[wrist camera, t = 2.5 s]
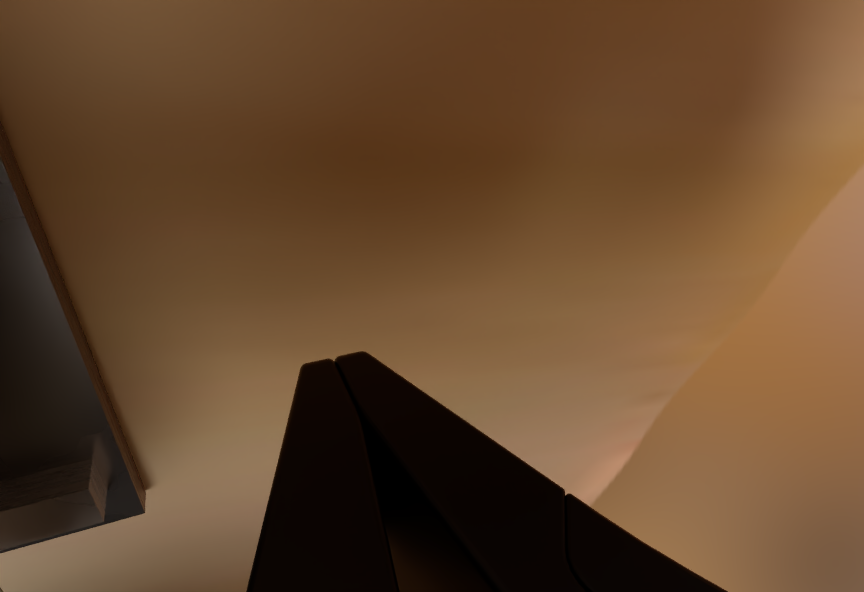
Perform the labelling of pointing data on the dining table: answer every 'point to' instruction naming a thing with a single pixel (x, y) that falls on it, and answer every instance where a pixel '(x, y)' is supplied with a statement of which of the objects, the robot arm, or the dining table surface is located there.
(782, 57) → the dining table surface
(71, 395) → the track
